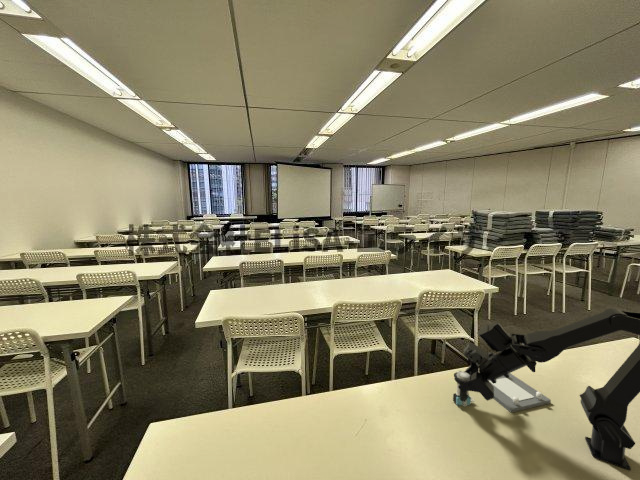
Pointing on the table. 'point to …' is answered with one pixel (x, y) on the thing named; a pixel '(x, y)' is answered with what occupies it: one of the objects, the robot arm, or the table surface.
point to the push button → (461, 395)
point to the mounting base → (517, 394)
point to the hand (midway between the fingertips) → (459, 382)
